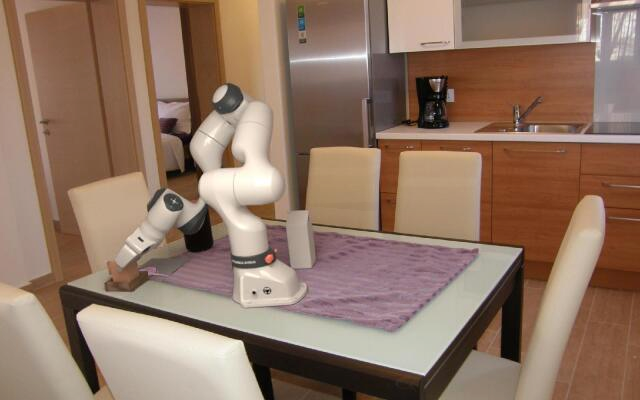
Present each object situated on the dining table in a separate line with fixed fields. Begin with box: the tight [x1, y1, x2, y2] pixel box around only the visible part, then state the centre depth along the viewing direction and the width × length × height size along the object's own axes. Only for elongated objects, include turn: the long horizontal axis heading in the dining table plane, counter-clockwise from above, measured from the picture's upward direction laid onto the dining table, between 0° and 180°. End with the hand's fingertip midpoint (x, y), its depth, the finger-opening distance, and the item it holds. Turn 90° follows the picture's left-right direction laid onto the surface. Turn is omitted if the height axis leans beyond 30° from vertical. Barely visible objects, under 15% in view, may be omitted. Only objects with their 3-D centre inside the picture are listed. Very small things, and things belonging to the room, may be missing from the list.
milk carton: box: [285, 209, 317, 270], centre depth 192 cm, size 7×7×19 cm
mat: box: [138, 257, 191, 276], centre depth 206 cm, size 16×16×1 cm
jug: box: [106, 260, 139, 282], centre depth 191 cm, size 9×6×9 cm, turn 75°
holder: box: [103, 271, 150, 293], centre depth 192 cm, size 10×10×3 cm
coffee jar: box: [182, 199, 214, 253], centre depth 221 cm, size 11×11×18 cm
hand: (127, 264), depth 190 cm, fingers open, 8 cm apart
